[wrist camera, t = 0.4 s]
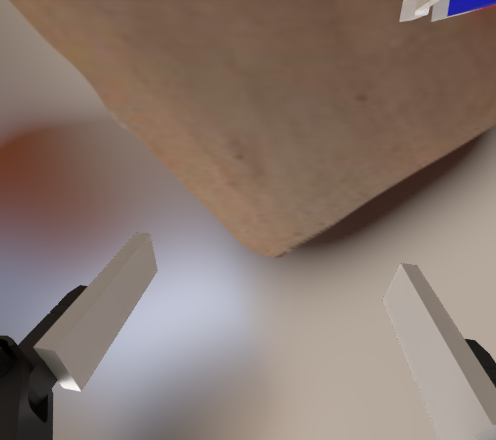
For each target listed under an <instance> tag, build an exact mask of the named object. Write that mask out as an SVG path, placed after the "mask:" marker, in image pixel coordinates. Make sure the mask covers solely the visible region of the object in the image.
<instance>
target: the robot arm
mask: <svg viewBox="0 0 496 440" xmlns="http://www.w3.org/2000/svg"><path fill="white" fill-rule="evenodd" d="M156 273H157V266H156V260H155V256H154V251H153V247H152V241H151V237H150V234H148V233H139V232H137V233H136V234H135V235H134V236H133V237H132V238H131V239H130V240H129V241H128V243H127V244H126V245H125V246H124V247H123V248H122V249H121V250H120V252H119V253H118V254H117V255H116V256H115V257H114V258H113V259H112V260H111V261H110V263H109V264H108V265H107V266H106V267H105V268H104V269H103V270H102V272H100V274H99V275H98V276H97V277H96V278H95V279H94V280H93V281H92V282H91V284H90V285H89V286H82V285H80V286H78V287H77V288H75V289H74V290H72V291H71V292H69V293H68V294H67V295H66V296H65V297H64V298H63V299H62V300H61V301H60V302H59V303H58V305H56V306H55V307H54V308H53V309H52V310H51V311H50V314H47V316H46V317H45V318H44V319H43V320H42V321H41V322H40V323H39V324H38V325H37V326H36V327H35V328H34V329H33V330H32V331H31V332H30V333H29V334H28V335H27V336H26V337H25V338H24V340H23V341H22V342H21V343H20V344H19V345H17V344H16V343H15V342H14V340H13V339H12V338H10V337H8V336H0V440H53V392H52V387H53V386H54V385H55V383H56V382H57V381H58V382H59V383H60V385H61V386H62V387H63V388H65V389H71V390H76V391H82V390H83V388H84V387H85V385H86V383H87V382H88V380H89V379H90V377H91V376H92V374H93V372H94V370H95V369H96V368H97V366H98V364H99V363H100V361H101V360H102V358H103V357H104V355H105V353H106V351H107V350H108V349H109V347H110V345H111V344H112V342H113V341H114V339H115V338H116V336H117V334H118V333H119V331H120V330H121V328H122V326H123V325H124V323H125V322H126V320H127V319H128V317H129V315H130V314H131V312H132V311H133V309H134V307H135V306H136V304H137V303H138V301H139V299H140V298H141V296H142V295H143V293H144V292H145V290H146V288H147V287H148V285H149V284H150V282H151V280H152V279H153V277H154V276H155V274H156ZM383 303H384V305H385V308H386V310H387V313H388V315H389V318H390V320H391V323H392V325H393V328H394V330H395V333H396V335H397V337H398V340H399V343H400V345H401V348H402V350H403V353H404V355H405V358H406V360H407V363H408V365H409V367H410V370H411V373H412V375H413V378H414V380H415V383H416V385H417V388H418V390H419V393H420V395H421V398H422V400H423V403H424V405H425V408H426V410H427V412H428V415H429V418H430V420H431V423H432V425H433V427H434V430H435V433H436V435H437V438H438V440H496V363H495V361H494V360H493V358H492V357H491V355H490V354H489V353H488V352H487V351H486V350H485V349H484V348H483V347H482V346H480V345H479V344H478V343H477V342H476V341H475V340H469V339H464V338H463V336H462V335H461V333H460V332H459V330H458V328H457V327H456V325H455V324H454V322H453V321H452V319H451V318H450V316H449V314H448V313H447V311H446V310H445V308H444V307H443V305H442V304H441V302H440V300H439V299H438V297H437V296H436V294H435V293H434V291H433V290H432V288H431V286H430V285H429V283H428V282H427V280H426V279H425V277H424V276H423V274H422V272H421V271H420V269H419V268H418V266H417V265H411V264H402V263H401V264H400V266H399V268H398V270H397V272H396V274H395V276H394V278H393V280H392V282H391V284H390V286H389V288H388V290H387V292H386V294H385V296H384V299H383Z"/></svg>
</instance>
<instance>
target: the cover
mask: <svg viewBox="0 0 496 440" xmlns="http://www.w3.org/2000/svg"><path fill="white" fill-rule="evenodd" d="M438 1H440V0H417V4H416V8H415V11H422V10H425V9H427V8H429V7H430V6H432V5H433V4H435V3H437V2H438Z"/></svg>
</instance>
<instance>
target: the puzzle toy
mask: <svg viewBox="0 0 496 440" xmlns="http://www.w3.org/2000/svg"><path fill="white" fill-rule="evenodd" d="M494 6H496V0H440V1H438V2H437V3H435V4H434V5H433V13H432V20H431V22H432V21H436V20H440V19H444V18H448V17H452V16H457V15H461V14H465V13H469V12H473V11H477V10H481V9H486V8H490V7H494Z"/></svg>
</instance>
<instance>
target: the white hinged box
mask: <svg viewBox="0 0 496 440" xmlns="http://www.w3.org/2000/svg"><path fill="white" fill-rule="evenodd" d="M416 4H417V0H403V5H402V10H401V15H400V21H399V22H403V21H411V20H414V19H417V18H419V17H422V16H425V15H427V14H428V12H429V8H427V9H425V10H422V11H415V8H416Z"/></svg>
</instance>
